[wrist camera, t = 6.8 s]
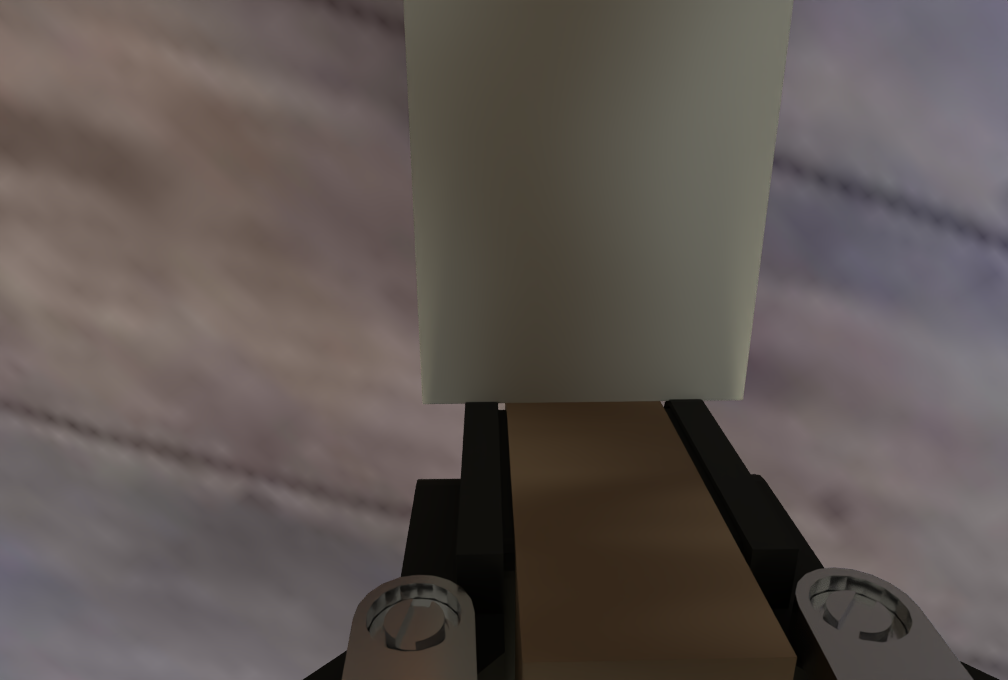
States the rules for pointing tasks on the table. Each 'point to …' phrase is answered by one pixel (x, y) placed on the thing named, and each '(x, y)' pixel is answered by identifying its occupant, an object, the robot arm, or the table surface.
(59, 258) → the table surface
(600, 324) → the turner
